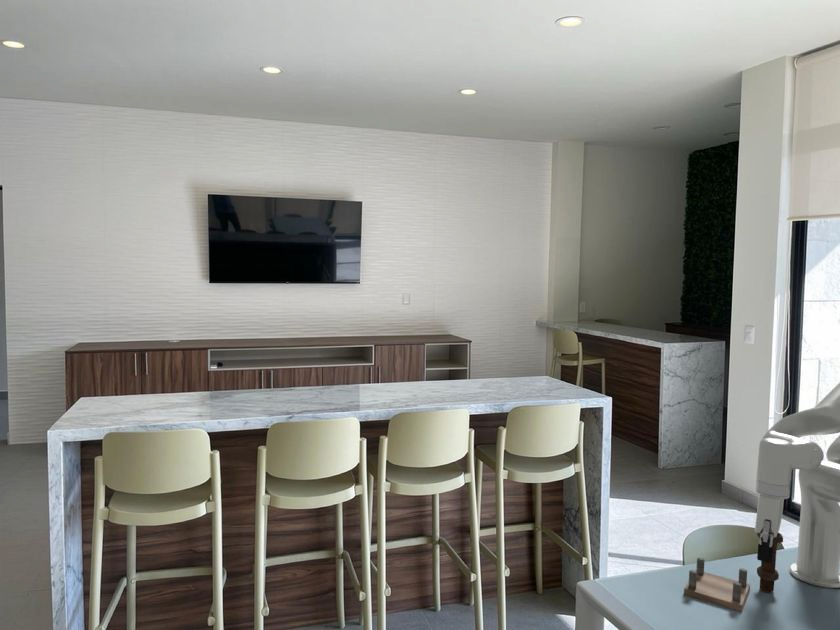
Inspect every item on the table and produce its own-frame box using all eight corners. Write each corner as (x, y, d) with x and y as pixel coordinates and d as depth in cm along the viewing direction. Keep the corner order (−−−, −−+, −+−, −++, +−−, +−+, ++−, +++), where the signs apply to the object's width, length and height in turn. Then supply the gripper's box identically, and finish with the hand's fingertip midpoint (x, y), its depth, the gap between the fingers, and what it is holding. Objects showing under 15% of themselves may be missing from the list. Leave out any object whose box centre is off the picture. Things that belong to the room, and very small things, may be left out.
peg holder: (695, 575, 169) (696, 554, 168) (749, 590, 161) (751, 569, 161) (683, 594, 158) (685, 573, 158) (741, 611, 151) (743, 589, 150)
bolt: (781, 597, 158) (785, 538, 157) (759, 594, 159) (763, 536, 158) (773, 586, 164) (777, 529, 163) (752, 583, 165) (755, 527, 164)
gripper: (760, 477, 169) (755, 540, 170) (751, 493, 154) (745, 561, 155) (793, 483, 164) (787, 548, 165) (786, 500, 150) (780, 571, 151)
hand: (766, 554), depth 160 cm, fingers open, 9 cm apart
